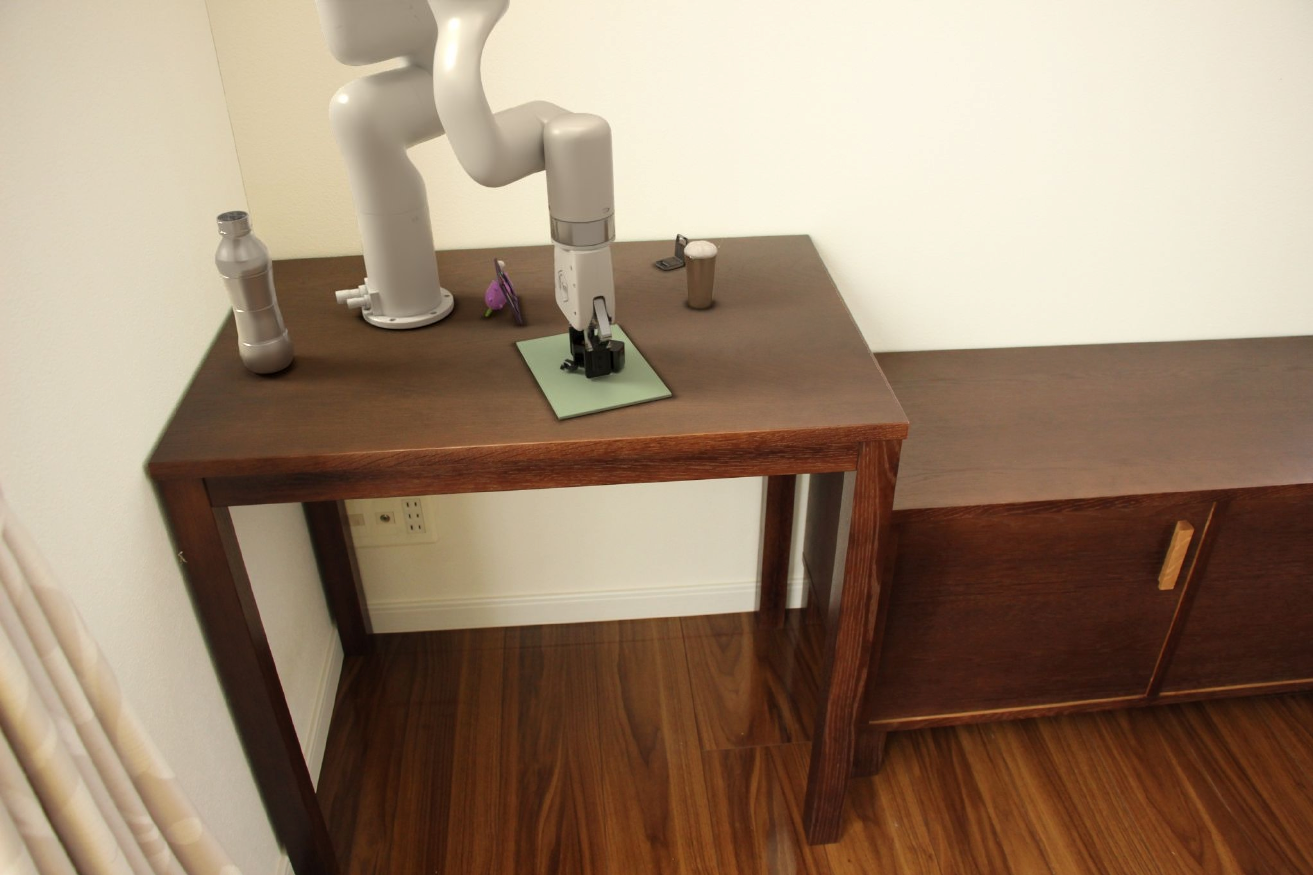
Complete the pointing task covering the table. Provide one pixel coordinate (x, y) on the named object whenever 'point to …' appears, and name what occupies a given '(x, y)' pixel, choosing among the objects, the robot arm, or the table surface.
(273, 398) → the table surface
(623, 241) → the table surface
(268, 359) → the plastic bottle
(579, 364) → the wireless earbuds
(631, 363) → the desk mat
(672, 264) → the strap clip
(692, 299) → the milkshake
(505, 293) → the purple creature toy frame
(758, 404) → the table surface
